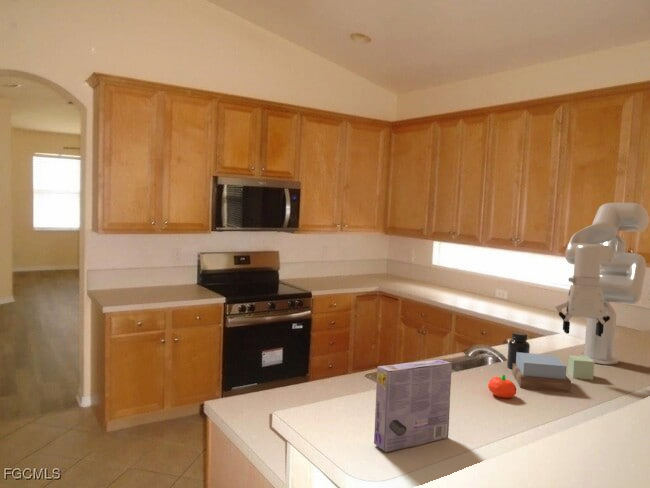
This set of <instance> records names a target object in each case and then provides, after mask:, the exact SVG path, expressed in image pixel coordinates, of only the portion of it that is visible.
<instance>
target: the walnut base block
mask: <svg viewBox="0 0 650 488" xmlns="http://www.w3.org/2000/svg"><path fill="white" fill-rule="evenodd" d="M511 374H512V376H513V377H514V380H515V382H517V385H518V386H519V388H520V389H528V390H537V391H538V390H540V391H548V392H550V391H551V392H562V393H571V391H572V390H571V385H572V380H571V379H570V378H569V377H568V376H567V375H566V379H555V378H544V377H533V376H523V374H522V373H521V371H520V370H519V368H518V367H517V365H516V363H513V367H512V369H511Z"/></svg>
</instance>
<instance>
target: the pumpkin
mask: <svg viewBox="0 0 650 488" xmlns="http://www.w3.org/2000/svg"><path fill="white" fill-rule="evenodd" d="M487 387H488V389H489V391H490V392H491V393H492V394H493V395H494V396H496V397H499V398H502V399H509V398H513V397H514V396H516V394H517V387H516V385H515V383H514V382H513V381H511V380H509V379H506V375H505V374H502V376H501V377H500V376H493V377H492V378H490V380H489V381H488V384H487Z"/></svg>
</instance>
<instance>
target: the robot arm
mask: <svg viewBox="0 0 650 488" xmlns="http://www.w3.org/2000/svg"><path fill="white" fill-rule="evenodd" d="M649 223H650V216H649V213H648V212H647V209H645V207H644V206H642V204H639V203H636V202H607V203H604V204H602V205H600V206H599V208H598V209H597V211H596V214H595V216H594V219H593V221H592V223H591V224H590V225H588V226H586V227H584V228H582V229H580V230H579V231H576V232H574V234H573V235H571V237H570V239H569V241H568V243H567V246H566V248H565V255H564V257H565V260H566V262H568V263H569V264H570V265H574V268H573V275H572V277H568V282H569V283H572V284H571V285H570V287H569V290H568V295H567V301H566V302H564V303H561V304H559V305H555V310H556V313H557V315H558V316H559V317H560V318H561V319H562V320H563V321H562V330H563V332H564V333H565V334H567V335H569V334H570V328H571V322H570V319H572V318H573V317H575V318H585V319H586V322H585V324H586V325H585V336H584V337H585V339H584V351H582V352H579V355H578V356H585V357H589V358H590V359H591V360H593V361H594V364H600V365H617V364H619V358H617V357H616V356H615V354H614V353H615V345H616V344H615V343H616V341H615V340H616V330H617V329H616V328H617V311H616V310H615V308H614V307H613V305H612V304H611V303H615V304H616V303H617V304H627V305H635V304H637V303H639V302H640V300H641V296H642V294H643V288H644V281H645V277H646V270H647V264H646V263H647V262H646V259H645V257H644V256H643V255H641V254H639V253H633V252H626V249H627V244H626V241H625V240H624V239H623V238H622V236H620V235H619V234H618V232H635V233H636V232H637V233H638V232H640V233H642V232H644V231H645V230H646V229H647V228H648V226H649ZM563 309H565V310H566V313H565V314H564V312H563V311H562V310H563Z"/></svg>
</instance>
